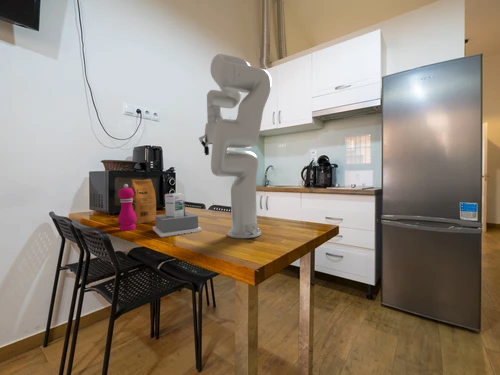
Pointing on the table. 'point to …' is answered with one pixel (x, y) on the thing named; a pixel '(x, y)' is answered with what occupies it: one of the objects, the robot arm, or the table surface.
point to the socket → (176, 225)
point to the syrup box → (175, 205)
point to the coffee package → (143, 201)
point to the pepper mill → (126, 209)
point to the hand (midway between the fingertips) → (215, 155)
